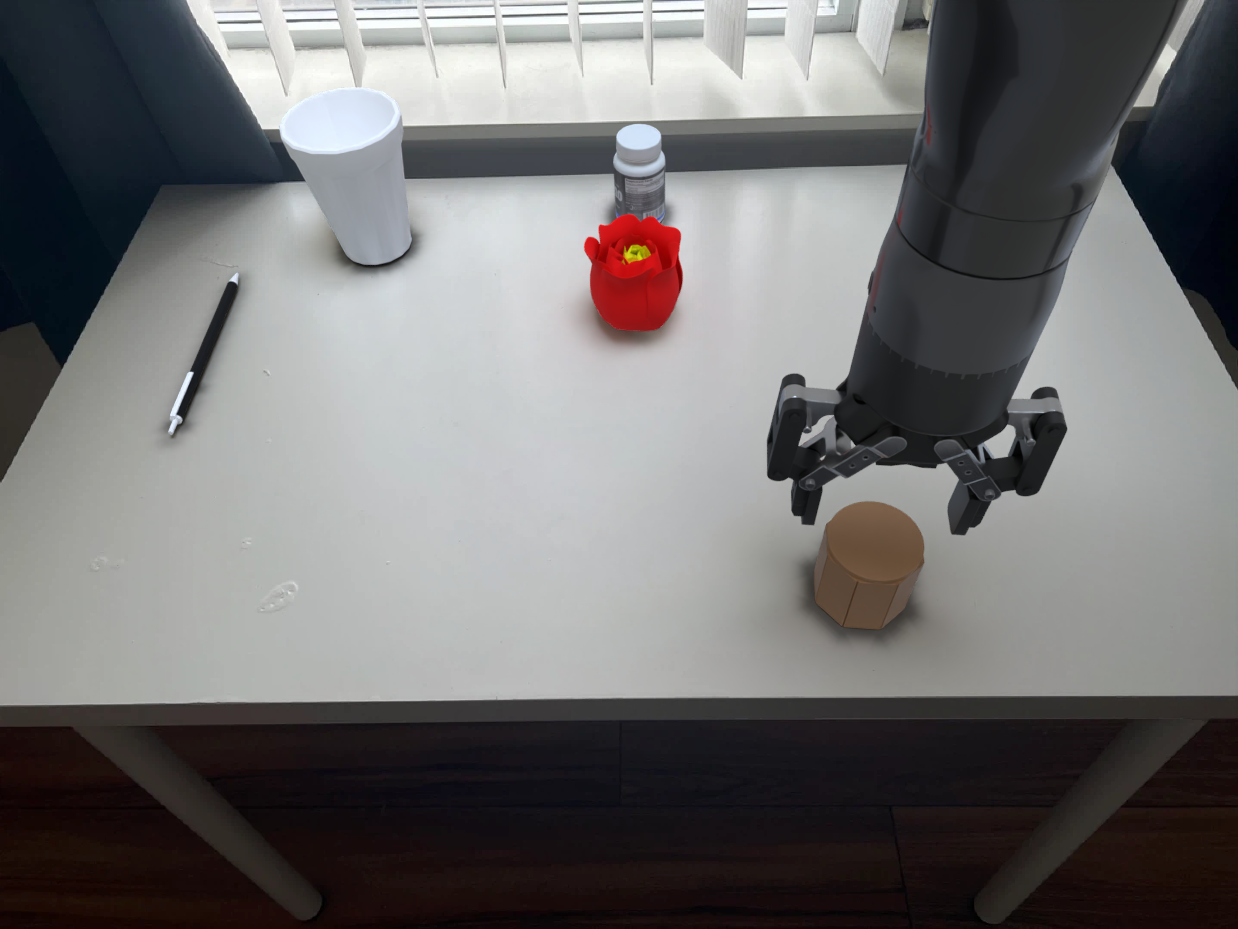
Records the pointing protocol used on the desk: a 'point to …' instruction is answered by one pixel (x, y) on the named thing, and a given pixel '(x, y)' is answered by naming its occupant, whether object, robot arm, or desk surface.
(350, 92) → the cup
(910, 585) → the brown octagonal prism
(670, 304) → the flower
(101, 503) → the desk surface
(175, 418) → the pen
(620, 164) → the pill bottle
